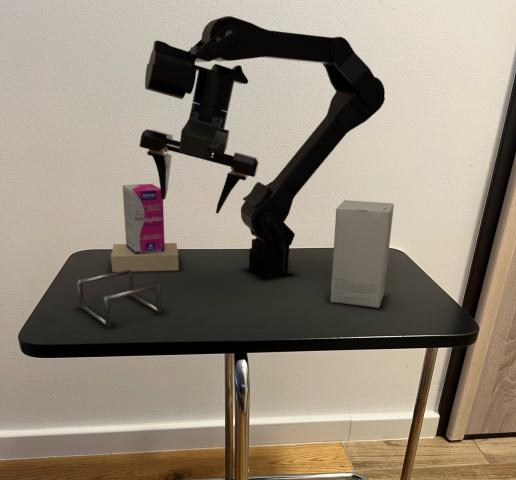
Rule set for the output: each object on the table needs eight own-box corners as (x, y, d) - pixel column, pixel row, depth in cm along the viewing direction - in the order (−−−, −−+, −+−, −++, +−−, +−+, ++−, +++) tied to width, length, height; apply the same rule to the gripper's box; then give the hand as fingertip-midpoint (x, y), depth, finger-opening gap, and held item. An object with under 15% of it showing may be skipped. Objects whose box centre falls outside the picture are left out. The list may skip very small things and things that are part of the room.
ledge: (177, 257, 108) (176, 242, 106) (178, 270, 100) (178, 254, 99) (114, 259, 106) (113, 244, 104) (112, 272, 98) (110, 256, 97)
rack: (132, 295, 88) (130, 268, 86) (162, 313, 82) (161, 284, 80) (79, 308, 83) (76, 280, 81) (107, 328, 77) (104, 297, 75)
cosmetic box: (384, 296, 91) (397, 203, 84) (378, 310, 86) (392, 211, 79) (335, 289, 94) (344, 198, 87) (327, 302, 88) (335, 206, 81)
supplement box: (135, 255, 98) (131, 190, 93) (125, 246, 103) (121, 184, 98) (166, 251, 101) (163, 188, 96) (155, 243, 105) (151, 182, 100)
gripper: (139, 87, 77) (122, 196, 83) (265, 121, 78) (240, 227, 84) (156, 93, 88) (140, 190, 93) (268, 123, 88) (245, 217, 94)
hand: (190, 206), depth 91 cm, fingers open, 9 cm apart
